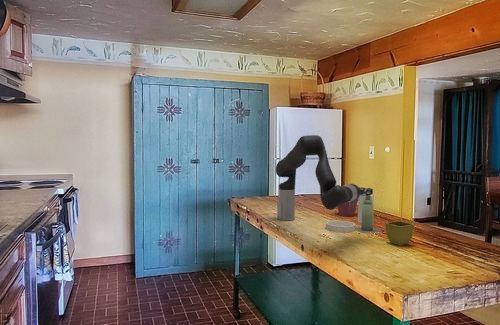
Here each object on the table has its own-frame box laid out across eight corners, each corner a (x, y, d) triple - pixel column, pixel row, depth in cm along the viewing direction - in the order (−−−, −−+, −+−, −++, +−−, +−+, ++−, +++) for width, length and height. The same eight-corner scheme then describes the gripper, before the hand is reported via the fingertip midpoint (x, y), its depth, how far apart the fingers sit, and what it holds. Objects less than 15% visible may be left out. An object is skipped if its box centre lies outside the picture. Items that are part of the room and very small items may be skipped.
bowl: (334, 233, 182) (334, 227, 182) (321, 227, 196) (321, 221, 196) (361, 231, 186) (361, 225, 186) (346, 225, 200) (346, 219, 200)
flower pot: (399, 247, 159) (400, 226, 159) (383, 242, 167) (384, 222, 167) (414, 244, 163) (414, 224, 163) (397, 240, 171) (398, 220, 171)
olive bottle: (365, 231, 186) (366, 194, 185) (359, 228, 191) (359, 192, 190) (375, 230, 187) (376, 193, 186) (368, 227, 193) (369, 192, 192)
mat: (363, 233, 183) (363, 232, 183) (351, 228, 193) (351, 227, 193) (383, 232, 186) (383, 231, 186) (370, 227, 196) (370, 226, 196)
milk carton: (372, 222, 209) (373, 187, 208) (371, 224, 202) (372, 189, 201) (359, 220, 212) (360, 187, 211) (357, 223, 205) (358, 188, 204)
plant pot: (356, 212, 235) (357, 192, 234) (361, 217, 221) (361, 195, 220) (333, 212, 236) (333, 192, 236) (336, 216, 222) (336, 195, 222)
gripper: (365, 185, 162) (376, 182, 175) (333, 183, 170) (346, 180, 183) (364, 203, 162) (375, 198, 175) (333, 200, 170) (346, 195, 183)
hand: (360, 189), depth 179 cm, fingers open, 8 cm apart
